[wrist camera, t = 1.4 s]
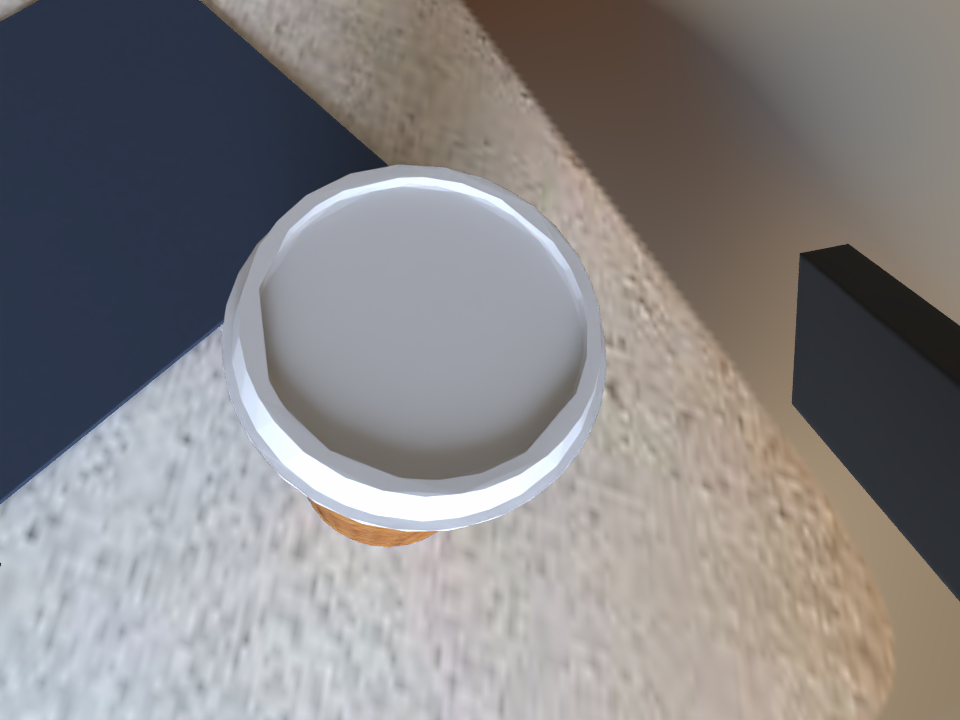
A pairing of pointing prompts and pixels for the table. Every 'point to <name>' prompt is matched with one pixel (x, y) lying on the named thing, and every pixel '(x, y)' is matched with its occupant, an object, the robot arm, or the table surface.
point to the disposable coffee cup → (414, 352)
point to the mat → (132, 201)
